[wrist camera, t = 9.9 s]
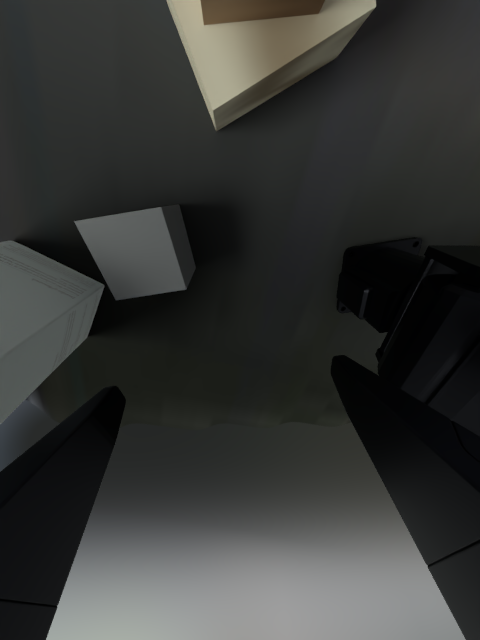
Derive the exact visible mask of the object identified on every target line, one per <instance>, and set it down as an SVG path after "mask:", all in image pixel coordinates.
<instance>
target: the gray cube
mask: <svg viewBox="0 0 480 640" xmlns="http://www.w3.org/2000/svg"><path fill="white" fill-rule="evenodd" d="M74 222H75V224H76V226H77V228H78V230H79V232H80V234H81V235H82V237H83V239H84V241H85V243H86V245H87V247H88V249H89V251H90V252H91V254H92V256H93V258H94V260H95V262H96V264H97V266H98V268H99V269H100V271H101V273H102V275H103V277H104V279H105V281H106V283H107V285H108V286H109V288H110V290H111V292H112V294H113V296H114V298H115V300H122V299H128V298H135V297H141V296H148V295H154V294H161V293H167V292H173V291H180V290H186V289H187V287H188V285H189V282H190V280H191V278H192V276H193V273H194V271H195V269H196V266H195V263H194V259H193V255H192V251H191V247H190V244H189V240H188V236H187V232H186V228H185V225H184V221H183V217H182V213H181V209H180V206H179V204H177V205H170V206H163V207H157V208H151V209H145V210H139V211H133V212H127V213H121V214H115V215H109V216H103V217H97V218H91V219H85V220H79V221H74Z"/></svg>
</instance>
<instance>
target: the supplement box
mask: <svg viewBox="0 0 480 640" xmlns="http://www.w3.org/2000/svg"><path fill="white" fill-rule="evenodd" d="M103 289H104V284H102V283H100V282H98V281H96V280H94V279H92V278H90V277H87V276H85V275H83V274H81V273H79V272H77V271H75V270H73V269H71V268H69V267H67V266H65V265H63V264H61V263H59V262H57V261H55V260H53V259H50V258H48V257H46V256H44V255H42V254H40V253H38V252H36V251H34V250H32V249H30V248H28V247H25V246H23V245H21V244H19V243H16V242H14V241H4V242H0V424H1V423H2V422H3V421H4V420H5V419H6V418H7V417H8V416H9V415H10V414H11V413H12V412H13V411H14V410H15V409H16V408H17V407H18V406H19V405H20V404H21V403H22V402H23V401H24V400H25V399H26V398H27V397H28V396H29V395H30V394H31V393H32V392H33V391H34V390H35V389H36V388H37V387H38V386H39V385H40V384H41V383H42V382H43V381H44V380H45V379H46V378H47V377H48V376H49V375H50V374H51V373H52V372H53V371H54V370H55V369H56V368H57V367H58V366H59V365H60V364H61V363H62V362H63V361H64V360H65V359H66V358H67V357H68V356H69V355H70V354H71V353H72V352H73V351H74V350H75V349H76V348H77V347H78V346H79V345H80V344H81V343H82V342H83V341H84V340H85V339H86V338H87V337H88V334H89V331H90V328H91V325H92V322H93V319H94V316H95V313H96V310H97V307H98V304H99V301H100V298H101V295H102V292H103Z"/></svg>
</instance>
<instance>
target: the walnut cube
mask: <svg viewBox="0 0 480 640" xmlns="http://www.w3.org/2000/svg"><path fill="white" fill-rule="evenodd" d="M200 1H201V8H202V15H203V23H204V25H210V24H221V23H231V22H241V21H252V20H262V19H272V18H282V17H293V16H303V15H313V14H319V12H320V10H321V8H322V6H323V4H324V2H325V0H200Z"/></svg>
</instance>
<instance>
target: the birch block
mask: <svg viewBox="0 0 480 640" xmlns="http://www.w3.org/2000/svg"><path fill="white" fill-rule="evenodd" d="M166 1H167V3H168V6H169V9H170V11H171V14H172V16H173V19H174V22H175V24H176V27H177V30H178V32H179V35H180V37H181V40H182V43H183V45H184V48H185V50H186V53H187V56H188V58H189V61H190V64H191V66H192V69H193V71H194V74H195V77H196V79H197V82H198V84H199V87H200V90H201V92H202V95H203V98H204V100H205V103H206V105H207V108H208V111H209V113H210V116H211V119H212V121H213V124H214V126H215V129H216V131H218V130H220V129H221V128H223V127H225V126H226V125H228V124H229V123H231V122H233V121H234V120H236V119H238V118H239V117H241V116H242V115H244V114H246V113H247V112H249V111H251V110H252V109H254V108H255V107H257V106H259V105H260V104H262V103H264V102H265V101H267V100H269V99H270V98H272V97H273V96H275V95H277V94H278V93H280V92H282V91H283V90H285V89H286V88H288V87H290V86H291V85H293V84H295V83H296V82H298V81H299V80H301V79H303V78H304V77H306V76H308V75H309V74H311V73H312V72H314V71H316V70H317V69H319V68H321V67H322V66H324V65H326V64H327V63H329V62H330V61H332V60H334V59H335V58H337V56H338V55H339V54H340V53H341V51H342V50H343V49H344V47H345V46H346V45H347V44H348V42H349V41H350V40H351V38H352V37H353V36H354V35H355V33H356V32H357V31H358V29H359V28H360V27H361V26H362V24H363V23H364V22H365V20H366V19H367V18H368V16H369V15H370V14H371V13H372V11H373V10H374V9H375V7H376V0H325V2H324V4H323V6H322V8H321V10H320V12H319V14H313V15H303V16H293V17H282V18H272V19H262V20H252V21H241V22H231V23H221V24H210V25H204V23H203V15H202V8H201V1H200V0H166Z"/></svg>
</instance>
